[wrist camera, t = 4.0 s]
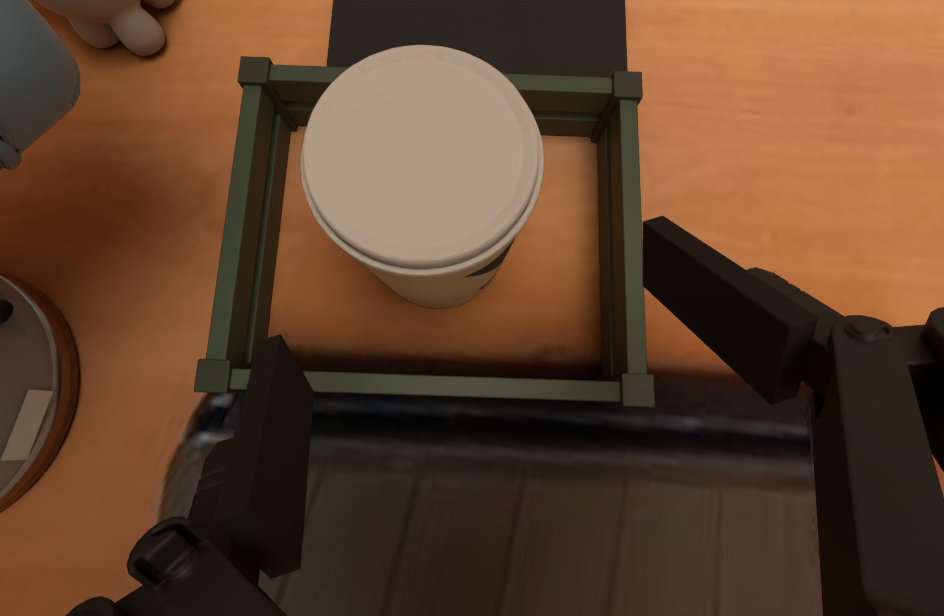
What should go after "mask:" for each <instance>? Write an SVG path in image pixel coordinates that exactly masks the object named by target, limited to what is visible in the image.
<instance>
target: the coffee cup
mask: <svg viewBox="0 0 944 616" xmlns="http://www.w3.org/2000/svg"><path fill="white" fill-rule="evenodd" d="M543 168H544V155H543V145H542V140H541V135H540V132H539V129H538V126H537V123H536V121H535V119H534V116H533V114H532V112H531V110H530V109H529V107H528V105H527V104H526V102H525V101H524V99H523V98H522V96H521V95H520V93H519V92H518V90H517V89H516V88H515V86H514V85H513V84H512V83H511V82H510V81H509V80H508V79H507V78H506V77H505V76H504V75H503V74H501V73H500V72H499V71H498V70H497V69H495V68H494V67H492V66H491V65H489V64H488V63H486V62H484V61H483V60H481V59H479V58H477V57H475V56H472V55H470V54H468V53H465V52H462V51H459V50H455V49H451V48H447V47H442V46H432V45H411V46H403V47H396V48H392V49H389V50H385V51H382V52H379V53H376V54H373V55H371V56H369V57H367V58H365V59H363V60H361V61H359V62H358V63H356V64H354V65H353V66H351V67H350V68H348V69H347V70H346V71H345V72H343V73H342V74H341V75H340V76H339V77H338V78H336V79H335V80H334V81H333V82H332V83H331V84H330V86H329V87H328V88H327V89H326V90H325V92H324V93H323V94H322V96H321V97H320V99H319V100H318V102H317V104H316V106H315V107H314V109H313V111H312V113H311V116H310V119H309V121H308V124H307V128H306V131H305V135H304V140H303V145H302V152H301V177H302V184H303V188H304V193H305V196H306V199H307V201H308V204H309V206H310V209H311V211H312V213H313V215H314V217H315V219H316V220H317V222H318V223H319V225H320V226H321V228H322V229H323V230H324V232H325V233H326V234H327V235H328V237H329V238H330V239H331V240H332V241H333V242H334V243H335V244H336V245H337V246H338V247H340V248H341V249H342V250H343V251H345V252H346V253H347V254H348V255H350V256H351V257H353V258H354V259H356V260H358V261H359V262H361V263H362V264H363V265H364V266H365V267H366V268H367V269H369V270H370V271H371V272H372V273H373V274H374V275H375V276H376V277H378V278H379V279H380V280H381V281H382V282H383V283H385V284H386V285H387V286H388V287H389V288H391V289H392V290H393V291H394V292H395V293H397V294H398V295H400V296H401V297H403V298H404V299H406V300H408V301H410V302H412V303H414V304H417V305H420V306H424V307H429V308H448V307H454V306H457V305H460V304H463V303H465V302H467V301H469V300H471V299H473V298H474V297H476V296H477V295H478V294H479V293H481V292H482V291H483V290H484V289H485V288H486V287H487V286H488V284H489V283H490V281H491V280H492V279H493V277H494V276H495V274H496V272H497V271H498V269H499V267H500V265H501V263H502V262H503V260H504V258H505V256H506V254H507V253H508V251H509V249H510V247H511V245H512V243H513V241H514V240H515V238H516V236H517V234H518V233H519V232H520V230H521V229H522V227H523V226H524V225H525V223H526V222H527V220H528V218H529V216H530V215H531V213H532V211H533V209H534V206H535V204H536V202H537V199H538V196H539V193H540V189H541V185H542V178H543Z"/></svg>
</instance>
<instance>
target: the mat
mask: <svg viewBox="0 0 944 616" xmlns="http://www.w3.org/2000/svg"><path fill="white" fill-rule="evenodd" d="M411 45H432V46H442V47H447V48H451V49H455V50H459V51H462V52H465V53H468V54H470V55H472V56H475V57H477V58H479V59H481V60H483V61H484V62H486V63H488V64H489V65H491V66H492V67H494V68H495V69H497V70H498V71H499V72H500V73H501V74H525V75H551V76H577V77H603V78H611V76H612V74H613V72H614V71H627V47H626V17H625V0H333V9H332V19H331V29H330V39H329V48H328V58H327V67H345V68H350V67H351V66H353V65H354V64H356V63H358V62H359V61H361V60H363V59H365V58H367V57H369V56H371V55H373V54H376V53H379V52H382V51H385V50H389V49H392V48H396V47H403V46H411Z"/></svg>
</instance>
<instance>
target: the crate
mask: <svg viewBox="0 0 944 616" xmlns="http://www.w3.org/2000/svg"><path fill="white" fill-rule="evenodd" d="M347 69H348V68H345V67H319V66H294V65H273V63H272V61H271V60H270V58H268V57H243V56H242V57H241V61H240V68H239V75H238V83H239V84H240V86H241V87H242V88H243V95H242V102H241V109H240V116H239V124H238V131H237V138H236V145H235V152H234V160H233V167H232V174H231V181H230V189H229V196H228V203H227V210H226V217H225V225H224V232H223V239H222V246H221V253H220V261H219V268H218V275H217V282H216V290H215V297H214V304H213V311H212V318H211V326H210V333H209V340H208V347H207V354H206V359H199V360H198V365H197V372H196V379H195V386H194V392H208V393H245V392H246V388H247V384H248V380H249V376H250V372H251V368H252V364H253V360H254V356H255V352H256V348H257V344H258V341H261V340H264V339H267V332H268V323H269V315H270V306H271V297H272V289H273V280H274V271H275V263H276V254H277V245H278V237H279V228H280V219H281V211H282V202H283V193H284V185H285V176H286V167H287V159H288V150H289V141H290V133H291V131H297V125H300V126H307V124H308V121H309V119H310V116H311V113H312V111H313V109H314V107H315V106H316V104H317V102H318V100H319V99H320V97H321V96H322V94H323V93H324V92H325V90H326V89H327V88H328V87H329V86H330V84H331V83H332V82H333V81H334V80H335V79H336V78H338V77H339V76H340V75H341V74H342V73H343V72H345V71H346V70H347ZM503 75H504V76H505V77H506V78H507V79H508V80H509V81H510V82H511V83H512V84H513V85H514V86H515V88H516V89H517V90H518V92H519V93H520V95H521V96H522V98H523V99H524V101H525V102H526V104H527V105H528V107H529V109H530V110H531V112H532V114H533V116H534V119H535V121H536V123H537V126H538V129H539V132H540V135H564V136H591V141H592V142H598V190H599V243H600V296H601V349H602V376H599V377H595V381H587V380H557V379H528V378H498V377H468V376H439V375H409V374H379V373H350V372H320V371H302V372H303V373H304V375H305V377H306V378H307V380H308V382H309V384H310V385H311V387H312V389H313V390H314V392H334V393H364V394H394V395H424V396H454V397H484V398H514V399H544V400H574V401H596V404H597V405H611V406H628V407H655V398H654V375H653V374H647V357H646V329H645V302H644V286H643V248H642V220H641V193H640V166H639V139H638V111H637V106H638V104H639V102H640V101H641V99H642V97H643V93H642V72H628V71H614V72H613V74H612V76H611V78H603V77H577V76H551V75H525V74H503Z"/></svg>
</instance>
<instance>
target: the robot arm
mask: <svg viewBox="0 0 944 616" xmlns="http://www.w3.org/2000/svg"><path fill="white" fill-rule="evenodd" d="M79 94H80V72H79V69H78V66H77V63H76V61H75V59H74V57H73V55H72V53H71V51H70V50H69V48H68V47H67V45H66V44H65V43H64V42H63V40H62V39H61V38H60V37H59V35H58V34H57V33H56V32H55V31H54V29H53V28H52V27H51V26H50V25H49V23H48V22H47V21H46V20H45V19H44V18H43V16H42V15H41V14H40V13H39V12H38V11H37V10H36V8H35V7H34V6H33V5H32V4H31V3H30V1H29V0H0V170H1V169H3V168H6V169H10V170H12V169H14V168H16V167H18V165H19V164H20V162H21V153H22V152H23V151H24V150H26V149H27V148H28V147H29V146H30V145H31V144H32V143H34V142H35V141H36V140H37V139H38V138H39V137H40V136H42V135H43V134H44V133H45V132H46V131H47V130H48V129H50V128H51V127H52V126H53V125H54V124H55V123H56V122H58V121H59V120H60V119H61V118H62V117H63V116H65V115H66V114H67V113H68V112H69V111H70V110H71V109H72V108H73V106H74V104H75V103H76V101H77V100H78V97H79ZM643 286H644V287H645V288H646V289H647V290H648V291H649V292H650V293H651V294H652V295H653V296H654V297H655V298H657V299H658V300H659V301H660V302H661V303H662V304H663V305H664V306H665V307H666V308H667V309H668V310H669V311H671V312H672V313H673V314H674V315H675V316H676V317H677V318H678V319H679V320H680V321H681V322H682V323H683V324H684V325H686V326H687V327H688V328H689V329H690V330H691V331H692V332H693V333H694V334H695V335H696V336H697V337H698V338H700V339H701V340H702V341H703V342H704V343H705V344H706V345H707V346H708V347H709V348H710V349H711V350H712V351H713V352H715V353H716V354H717V355H718V356H719V357H720V358H721V359H722V360H723V361H724V362H725V363H726V364H727V365H729V366H730V367H731V368H732V369H733V370H734V371H735V372H736V373H737V374H738V375H739V376H740V377H741V378H742V379H744V380H745V381H746V382H747V383H748V384H749V385H750V386H751V387H752V388H753V389H754V390H755V391H756V392H758V393H759V394H760V395H761V396H762V397H763V398H764V399H765V400H766V401H767V402H768V403H769V404H770V405H773V404H776V403H779V402H782V401H785V400H788V399H790V398H793V397H796V396H797V393H798V389H799V386H800V382H801V380H802V381H803V382H804V383H805V384H806V385H808V386H809V387H810V388H811V389H813V390H812V393H811V396H810V399H809V403H808V406H807V409H806V413H805V416H804V418H809V417H810V414H811V425H812V441H813V457H814V473H815V490H816V506H817V522H818V538H819V554H820V571H821V587H822V603H823V616H944V497H943V493H942V490H941V486H940V482H939V479H938V475H937V471H936V468H935V464H934V460H933V457H932V454H933V456H934V458H935V459H936V461H937V462H938V464H939V466H940V467H941V469H942V470H943V472H944V307H942V308H938V309H936V310H934V311H932V312H931V313H930V315H929V318H928V320H927V322H926V324H925V325H916V326H903V327H892V326H891V325H889V324H888V323H886V322H884V321H881V320H879V319H876V318H872V317H867V316H862V315H849V316H845V317H844V316H843V315H841V314H839V313H838V312H836V311H835V310H833V309H831V308H830V307H828V306H826V305H825V304H823V303H822V302H820V301H818V300H817V299H815V298H814V297H812V296H810V295H809V294H807V293H805V292H804V291H800V289H799V288H797V287H796V286H794V285H792V284H789V283H788V281H786V280H784V279H783V278H781V277H780V276H778V275H776V274H775V273H772V272H769V271H766V270H763V269H759V268H756V267H754V268H751V269H748V270H745V269H743V268H742V267H740V266H739V265H737V264H736V263H734V262H733V261H731V260H730V259H728V258H727V257H725V256H724V255H722V254H721V253H719V252H717V251H716V250H714V249H713V248H711V247H710V246H708V245H707V244H705V243H704V242H702V241H701V240H699V239H698V238H696V237H695V236H693V235H691V234H690V233H688V232H687V231H685V230H684V229H682V228H681V227H679V226H678V225H676V224H675V223H673V222H672V221H670V220H669V219H667V218H665V217H664V216H660V217H657V218H654V219H650V220H647V221H644V222H643ZM77 391H78V361H77V355H76V350H75V346H74V343H73V339H72V336H71V334H70V331H69V329H68V327H67V325H66V323H65V321H64V319H63V318H62V316H61V315H60V313H59V312H58V310H57V309H56V308H55V307H54V305H53V304H52V303H51V302H50V301H49V300H48V299H47V298H46V297H45V296H44V295H43V294H42V293H40V292H39V291H38V290H36V289H35V288H34V287H32V286H31V285H29V284H27V283H25V282H24V281H22V280H20V279H18V278H15V277H13V276H10V275H7V274H4V273H1V272H0V512H1V511H2V510H4V509H5V508H6V507H8V506H9V505H10V504H12V503H13V502H14V501H16V500H17V499H18V498H19V497H20V496H21V495H22V494H23V493H24V492H26V491H27V490H28V489H29V488H30V487H31V486H32V484H33V483H34V482H35V481H36V480H37V479H38V478H39V477H40V475H41V474H42V473H43V472H44V470H45V469H46V468H47V467H48V465H49V464H50V462H51V460H52V459H53V457H54V456H55V454H56V453H57V451H58V449H59V447H60V445H61V443H62V442H63V439H64V437H65V435H66V433H67V430H68V428H69V425H70V422H71V419H72V416H73V412H74V408H75V404H76V399H77ZM313 396H314V390H313V389H312V387H311V385H310V384H309V382H308V380H307V378H306V377H305V375H304V373H303V372H302V370H301V368H300V366H299V365H298V363H297V361H296V360H295V358H294V356H293V354H292V353H291V351H290V349H289V348H288V346H287V344H286V342H285V341H284V339H283V337H282V336H281V334H280V335H277V336H274V337H270V338H267V339H264V340H261V341H258V344H257V348H256V352H255V356H254V360H253V364H252V368H251V372H250V376H249V380H248V384H247V388H246V392H245V396H244V400H243V404H242V408H241V411H240V415H239V419H238V423H237V427H236V431H235V435H234V437H233V438H230V439H227V440H223V441H220V442H217V444H216V445H215V446H214V448H213V449H212V451H211V452H210V454H209V455H208V457H207V458H206V460H205V463H204V466H203V470H202V473H201V479H200V480H199V483H198V486H197V492H196V493H195V496H194V499H193V503H192V506H191V509H190V513H189V516H188V519H186V518H184V517H182V516H181V517H171V518H169V519H166V520H164V521H162V522H160V523H158V524H157V525H155V526H154V527H153V528H151V529H150V530H148V531H147V532H146V533H145V534H144V535H143V536H142V538H141V539H140V540H139V541H138V542H137V543H136V545H135V546H134V548H133V550H132V551H131V553H130V555H129V559H128V562H127V569H128V574H129V575H130V576H132V577H133V578H135V579H136V580H137V581H139V582H140V583H141V584H143V586H141V587H139V588H138V589H136V590H135V591H133V592H131V593H130V594H128V595H127V596H125V597H124V598H122V599H120V600H119V601H117V602H116V603H115V602H113V601H112V600H110V599H108V598H105V597H102V596H100V597H95V598H91V599H88V600H87V601H85V602H83V603H81V604H79V605H78V606H76V607H75V608H74V609H73V610H71V611H70V612H69V613H68V614H67V615H66V616H287V615H286V614H285V613H284V612H283V611H282V610H281V609H280V608H279V607H278V606H277V605H276V604H275V603H274V602H273V601H272V599H271V598H270V597H269V596H268V595H267V594H266V593H265V592H264V591H263V590H262V589H261V588H260V587H259V586H258V579H259V573H260V569H261V570H262V571H263V572H264V573H265V574H266V575H267V576H268V577H269V578H270V579H272V578H275V577H278V576H281V575H284V574H287V573H290V572H292V571H295V570H298V569H300V568H301V555H302V542H303V528H304V515H305V502H306V489H307V475H308V462H309V449H310V436H311V422H312V409H313Z"/></svg>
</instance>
